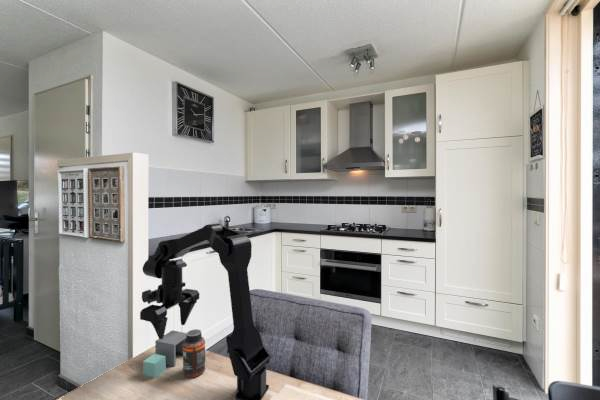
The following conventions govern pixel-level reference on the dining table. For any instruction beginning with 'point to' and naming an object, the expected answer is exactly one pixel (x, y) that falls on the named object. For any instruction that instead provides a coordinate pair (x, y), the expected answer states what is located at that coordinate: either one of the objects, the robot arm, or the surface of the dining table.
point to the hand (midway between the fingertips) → (172, 331)
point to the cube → (154, 365)
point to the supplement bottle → (194, 354)
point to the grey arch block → (171, 346)
